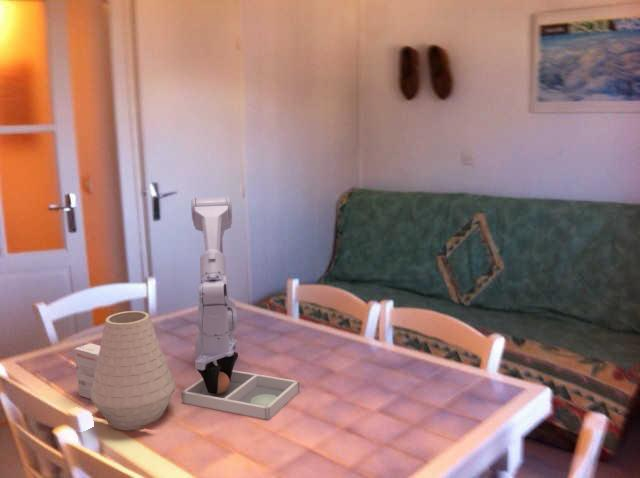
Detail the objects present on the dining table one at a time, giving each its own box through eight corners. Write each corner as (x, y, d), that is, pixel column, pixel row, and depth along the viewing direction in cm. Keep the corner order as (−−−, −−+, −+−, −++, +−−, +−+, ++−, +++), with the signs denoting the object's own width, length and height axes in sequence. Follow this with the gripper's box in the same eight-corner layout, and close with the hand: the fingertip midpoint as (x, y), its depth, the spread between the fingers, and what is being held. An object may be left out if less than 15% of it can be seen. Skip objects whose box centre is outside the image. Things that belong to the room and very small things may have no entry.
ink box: (119, 395, 153) (115, 348, 150) (102, 403, 149) (97, 355, 146) (94, 388, 157) (90, 341, 155) (77, 395, 153) (72, 348, 151)
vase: (133, 446, 129) (123, 336, 125) (75, 426, 138) (65, 322, 134) (193, 411, 144) (187, 311, 139) (138, 394, 153) (130, 300, 148)
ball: (204, 395, 149) (202, 374, 148) (216, 386, 154) (214, 366, 153) (222, 398, 147) (221, 378, 146) (234, 390, 152) (233, 370, 151)
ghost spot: (245, 404, 144) (245, 403, 144) (259, 393, 150) (259, 392, 150) (270, 409, 142) (270, 408, 142) (284, 397, 147) (284, 396, 147)
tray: (182, 406, 146) (181, 392, 146) (218, 381, 160) (218, 367, 159) (268, 424, 137) (267, 408, 137) (299, 395, 151) (299, 381, 150)
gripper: (213, 344, 140) (216, 403, 142) (247, 324, 153) (249, 378, 155) (185, 340, 142) (189, 398, 145) (221, 320, 155) (224, 374, 158)
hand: (219, 387), depth 150 cm, fingers closed on ball, 5 cm apart
